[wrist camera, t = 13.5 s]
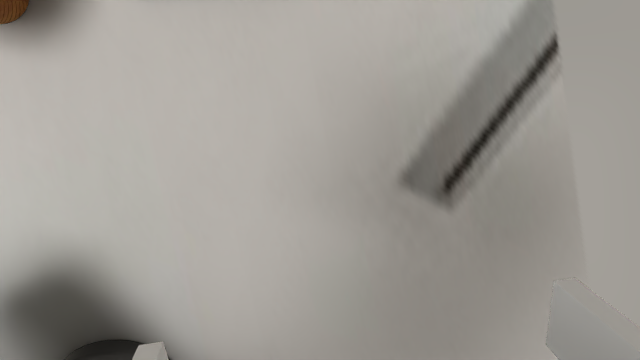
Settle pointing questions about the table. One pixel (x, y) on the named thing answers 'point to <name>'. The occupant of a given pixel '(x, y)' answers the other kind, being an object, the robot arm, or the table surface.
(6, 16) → the disposable coffee cup
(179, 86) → the table surface
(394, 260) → the table surface
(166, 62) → the table surface
